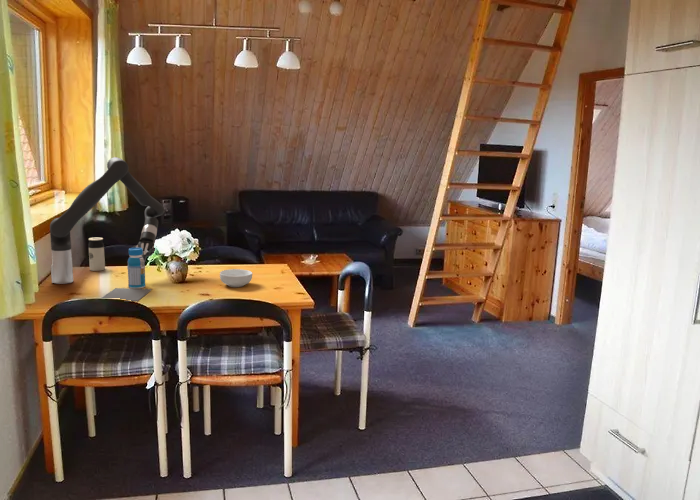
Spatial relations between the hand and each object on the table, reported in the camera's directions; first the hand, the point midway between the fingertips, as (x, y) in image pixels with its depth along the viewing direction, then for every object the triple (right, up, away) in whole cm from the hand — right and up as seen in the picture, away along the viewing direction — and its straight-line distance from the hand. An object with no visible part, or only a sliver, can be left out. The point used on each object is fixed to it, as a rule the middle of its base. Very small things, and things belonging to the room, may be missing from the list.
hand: (142, 261), depth 305 cm
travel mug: (-35, -5, +27) cm, 45 cm away
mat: (0, -16, -22) cm, 27 cm away
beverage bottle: (0, -13, -7) cm, 15 cm away
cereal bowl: (+49, -13, +3) cm, 50 cm away
